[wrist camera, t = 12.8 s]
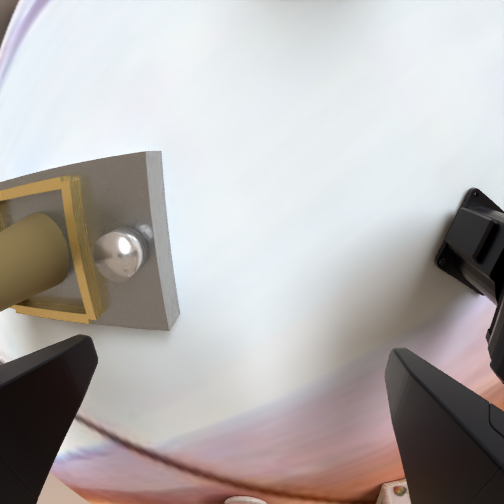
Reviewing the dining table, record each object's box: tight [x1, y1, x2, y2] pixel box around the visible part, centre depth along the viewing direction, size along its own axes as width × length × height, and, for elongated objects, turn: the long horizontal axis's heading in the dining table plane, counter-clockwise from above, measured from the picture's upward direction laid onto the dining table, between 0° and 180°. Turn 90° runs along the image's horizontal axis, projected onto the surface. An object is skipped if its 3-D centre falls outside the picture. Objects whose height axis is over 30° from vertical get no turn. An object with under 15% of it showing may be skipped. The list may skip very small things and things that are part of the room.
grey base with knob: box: [0, 151, 180, 331], centre depth 20 cm, size 16×12×4 cm
